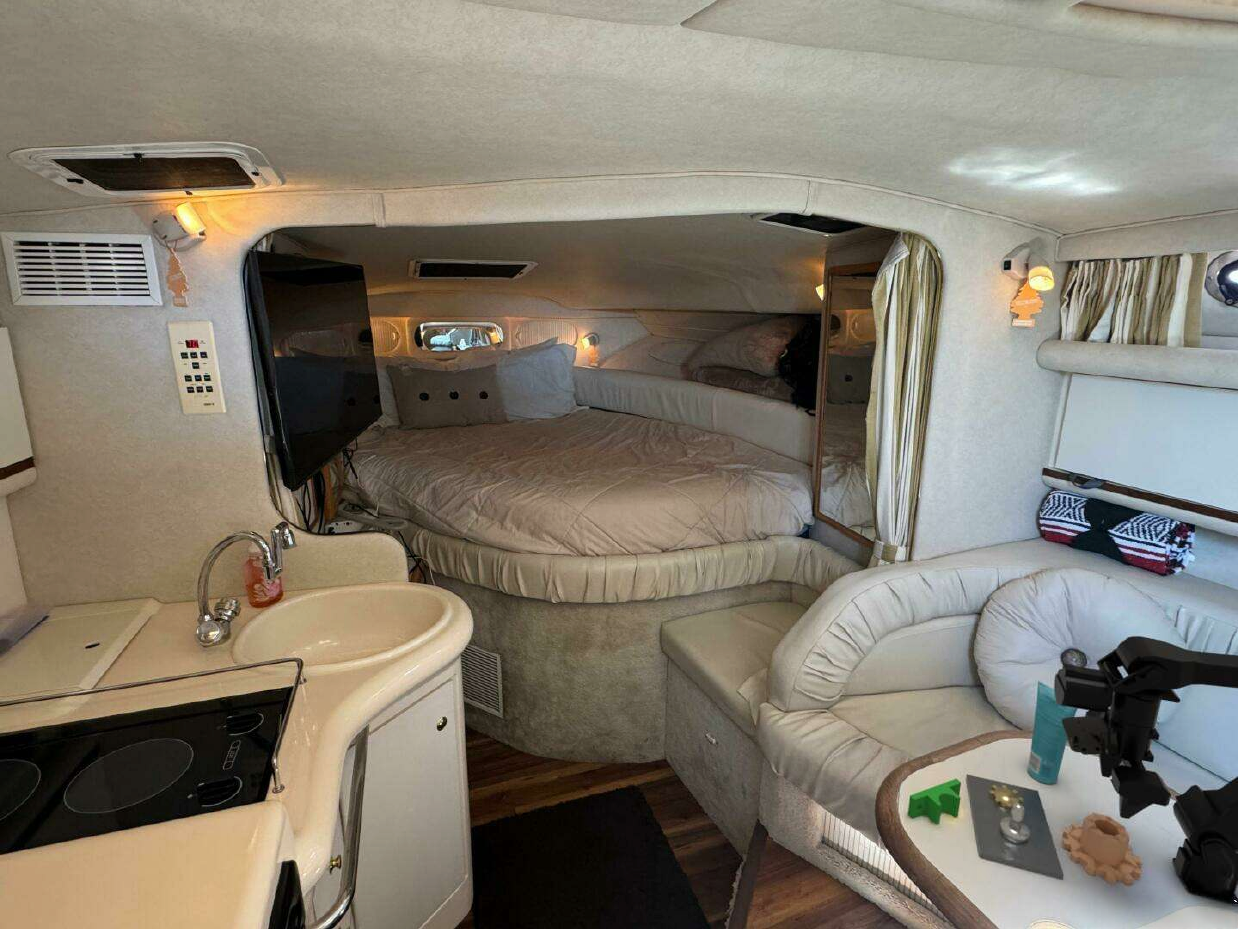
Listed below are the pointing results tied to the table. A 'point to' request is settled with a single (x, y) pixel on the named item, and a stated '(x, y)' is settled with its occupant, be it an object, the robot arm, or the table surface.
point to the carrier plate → (1001, 846)
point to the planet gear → (1102, 849)
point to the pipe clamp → (936, 801)
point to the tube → (1048, 736)
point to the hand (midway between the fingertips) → (1114, 796)
